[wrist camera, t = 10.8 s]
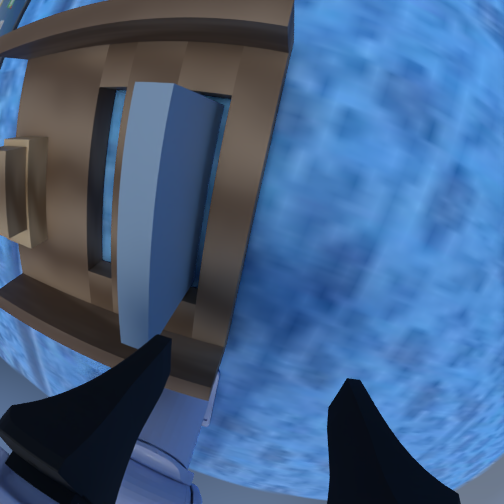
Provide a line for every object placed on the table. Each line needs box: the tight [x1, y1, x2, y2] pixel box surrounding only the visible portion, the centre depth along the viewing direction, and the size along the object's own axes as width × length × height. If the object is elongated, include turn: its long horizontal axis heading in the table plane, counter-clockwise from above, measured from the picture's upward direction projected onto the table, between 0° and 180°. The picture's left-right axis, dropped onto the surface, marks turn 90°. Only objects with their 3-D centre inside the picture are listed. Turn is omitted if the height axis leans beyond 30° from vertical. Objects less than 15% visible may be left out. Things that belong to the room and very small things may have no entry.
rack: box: [0, 0, 294, 401], centre depth 16 cm, size 22×20×6 cm
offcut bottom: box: [4, 136, 48, 249], centre depth 16 cm, size 8×4×2 cm, turn 168°
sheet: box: [117, 82, 224, 349], centre depth 14 cm, size 12×2×8 cm, turn 168°
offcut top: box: [0, 146, 27, 238], centre depth 14 cm, size 6×3×2 cm, turn 168°
